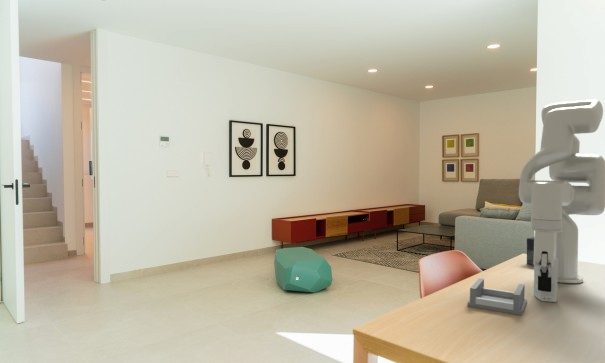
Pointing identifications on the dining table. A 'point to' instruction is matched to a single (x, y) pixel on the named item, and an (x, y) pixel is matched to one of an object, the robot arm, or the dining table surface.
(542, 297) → the skincare box
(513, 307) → the rest
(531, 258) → the small box
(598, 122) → the robot arm
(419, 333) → the dining table surface
